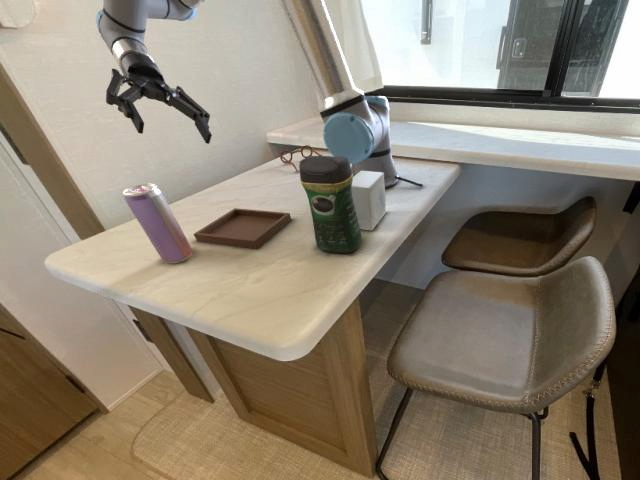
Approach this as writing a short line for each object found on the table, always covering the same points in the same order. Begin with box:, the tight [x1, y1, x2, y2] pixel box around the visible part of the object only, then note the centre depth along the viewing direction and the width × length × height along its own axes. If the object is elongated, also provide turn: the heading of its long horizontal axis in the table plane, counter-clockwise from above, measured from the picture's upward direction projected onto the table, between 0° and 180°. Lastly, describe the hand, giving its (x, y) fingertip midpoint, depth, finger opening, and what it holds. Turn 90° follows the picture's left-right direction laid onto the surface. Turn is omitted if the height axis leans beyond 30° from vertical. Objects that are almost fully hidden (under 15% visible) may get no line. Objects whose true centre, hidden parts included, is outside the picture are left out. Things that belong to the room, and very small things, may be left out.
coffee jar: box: [298, 155, 363, 254], centre depth 63 cm, size 10×8×19 cm
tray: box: [193, 207, 292, 250], centre depth 76 cm, size 17×15×2 cm
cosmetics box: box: [352, 171, 387, 231], centre depth 75 cm, size 10×6×10 cm, turn 163°
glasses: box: [279, 144, 324, 173], centre depth 116 cm, size 13×13×5 cm
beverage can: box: [122, 183, 194, 265], centre depth 64 cm, size 6×6×15 cm
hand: (177, 134), depth 72 cm, fingers open, 13 cm apart
